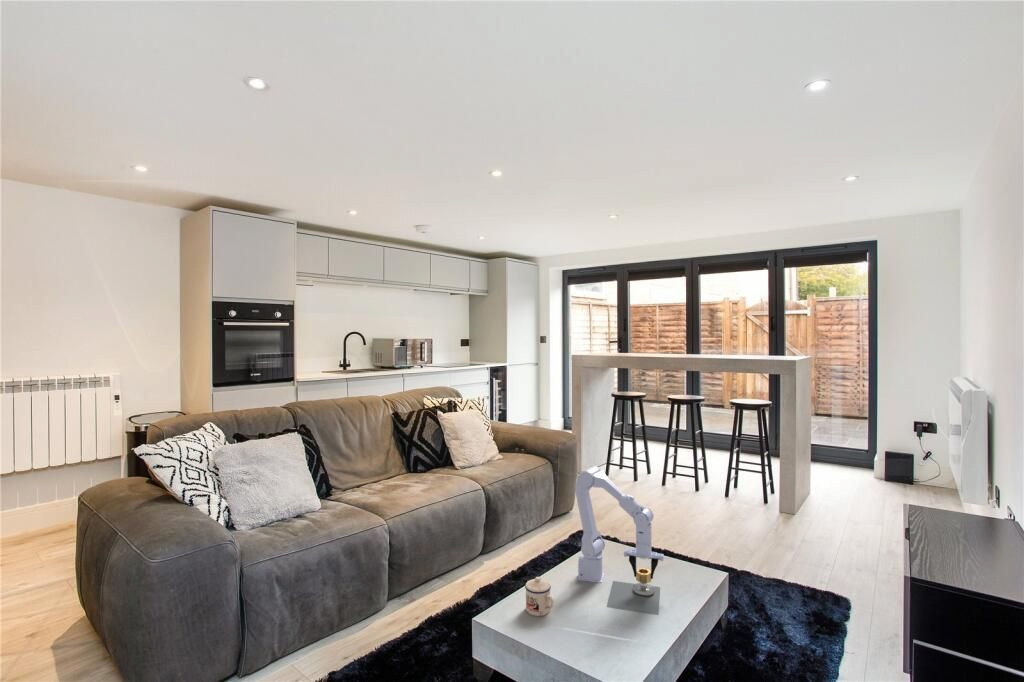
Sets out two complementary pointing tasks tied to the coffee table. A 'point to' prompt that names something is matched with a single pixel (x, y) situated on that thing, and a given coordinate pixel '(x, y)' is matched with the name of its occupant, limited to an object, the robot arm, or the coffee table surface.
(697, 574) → the coffee table surface
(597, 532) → the robot arm
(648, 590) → the metal peg stand
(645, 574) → the ring
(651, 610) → the bench mat
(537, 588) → the teacup with lid
